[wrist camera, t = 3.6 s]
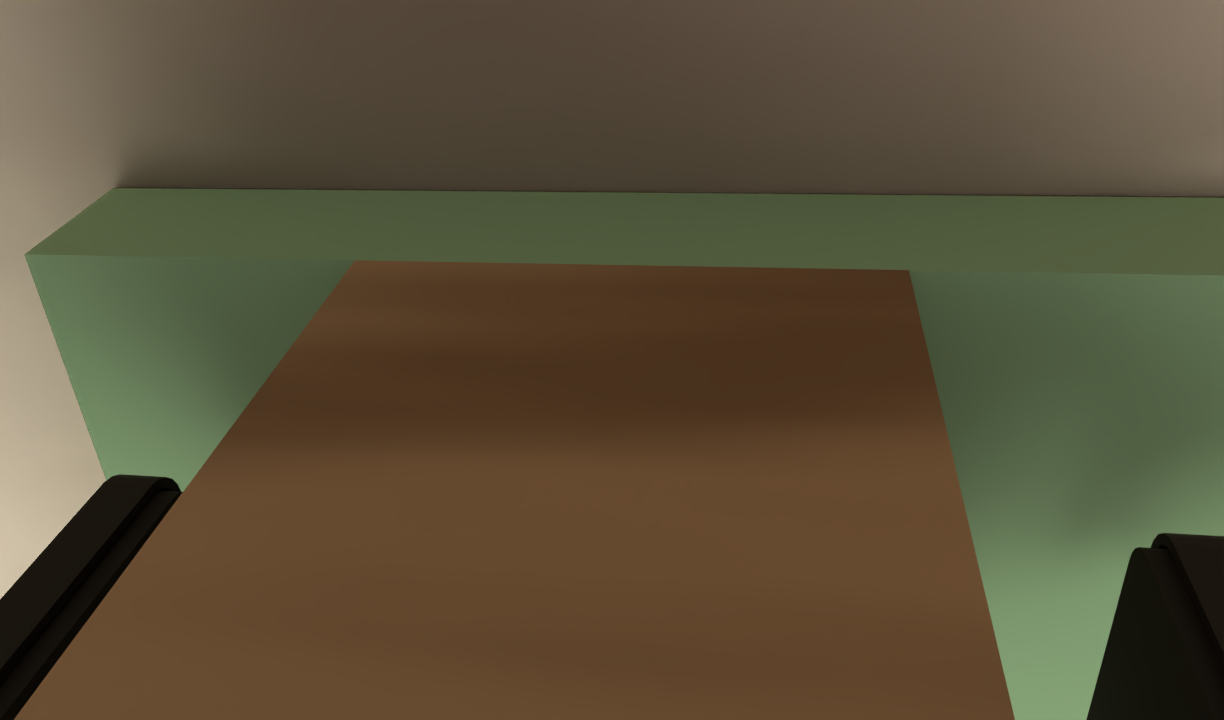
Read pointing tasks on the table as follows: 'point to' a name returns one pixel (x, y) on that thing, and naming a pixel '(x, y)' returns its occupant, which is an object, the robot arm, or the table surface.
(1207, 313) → the green
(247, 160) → the table surface
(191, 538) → the block
